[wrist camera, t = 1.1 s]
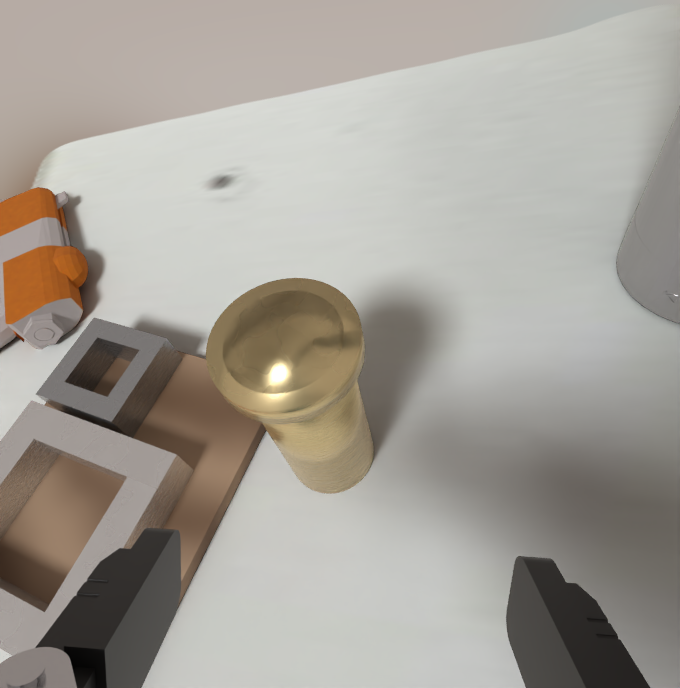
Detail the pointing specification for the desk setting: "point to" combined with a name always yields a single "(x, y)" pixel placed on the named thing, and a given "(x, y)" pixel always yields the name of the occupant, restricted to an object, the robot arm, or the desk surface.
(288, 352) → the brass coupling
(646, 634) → the desk surface
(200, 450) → the walnut board
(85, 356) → the grey square ring
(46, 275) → the toy gun
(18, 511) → the wide steel port
